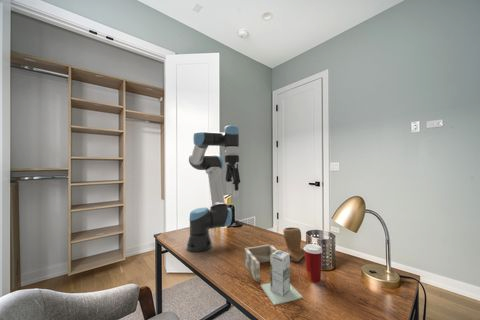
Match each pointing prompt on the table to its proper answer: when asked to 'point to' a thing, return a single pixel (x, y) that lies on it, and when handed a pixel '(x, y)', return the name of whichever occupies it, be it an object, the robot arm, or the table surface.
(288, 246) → the brown boot
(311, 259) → the paper cup
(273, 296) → the mat
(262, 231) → the table surface
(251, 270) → the cubby
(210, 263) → the table surface
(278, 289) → the syrup box
